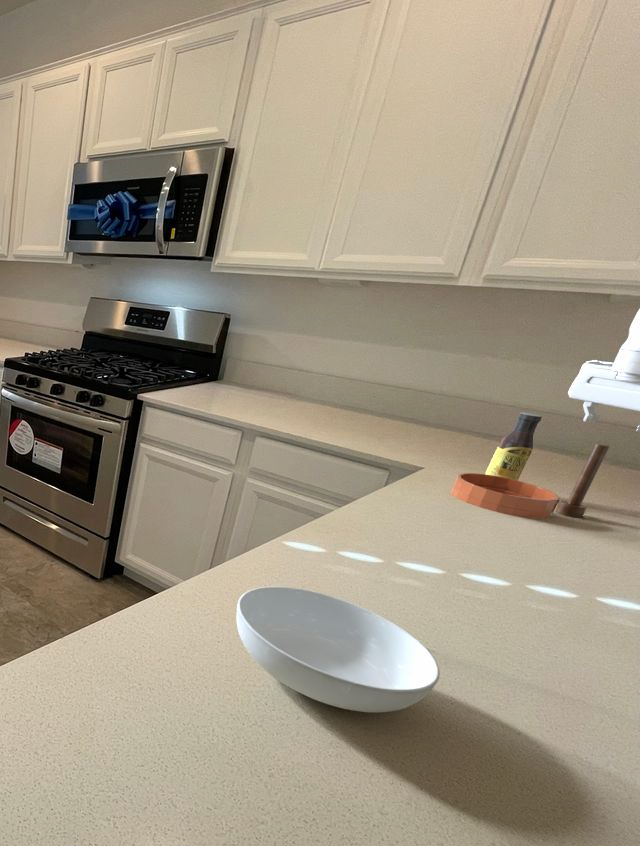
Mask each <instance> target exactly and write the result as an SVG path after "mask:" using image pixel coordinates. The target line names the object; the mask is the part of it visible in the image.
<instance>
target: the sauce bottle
mask: <svg viewBox="0 0 640 846" xmlns="http://www.w3.org/2000/svg"><path fill="white" fill-rule="evenodd" d="M542 418H543V416H541V415H539V414H534V413H529V412H519V414H518V416H517V420H516V422H515V425H514V426H513V429H512V430H511V431H509V432H508V433H506V434H505V435H504V436H502V438H501V440H500V442H499V445H498V446H497V447H496V449H495V452H494V454H493V456H492V457H491V459H490V462H489V464H488V466H487V469H486V470H485V472H484V474H487V475H494V476H499V477H504V478H509V479H514V480H518V481H519V479H520V477H521V474H522V473H523V470H524V469H525V466H526V464H527V461H528V460H529V458H530V456H531V454H532V453H533V449H534V433H535V430H536V429H537V426H538V424H539V423H540V422H541V421H542Z"/></svg>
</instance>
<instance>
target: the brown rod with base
mask: <svg viewBox="0 0 640 846" xmlns="http://www.w3.org/2000/svg"><path fill="white" fill-rule="evenodd" d="M610 447H611V446H610V445H609V444H604V443H599V442H597V443H595V444H594V446H593V448H592V450H591V452H590V453H589V456H588V458H587V460H586V462H585V464H584V466H583V468H582V470H581V473H580V475H579V477H578V479H577V481H576V483H575V485H574V486H573V488H572V491H571V493H570V495H569V497H568V499H567V500H559V501H558V504H557V506H556V508H555V512H556V513H557V514H560V515H562V516H566V517H570V518H578V519H581V518H583V517H584V515H585V513H586V511H587V508H588V507H587V506H586V505H584V504H583V501H584V499H585V497H586V495H587V493H588V491H589V489H590V487H591V485H592V483H593V481H594V479H595V477H596V475H597V473H598V471H599V469H600V467H601V465H602V463H603V461H604V459H605V457H606V455H607V452H608V451H609V449H610Z"/></svg>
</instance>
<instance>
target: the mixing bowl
mask: <svg viewBox="0 0 640 846" xmlns="http://www.w3.org/2000/svg"><path fill="white" fill-rule="evenodd" d="M449 495H452V496H453V497H455V498H456V499H458V500H460V501H463V502H464V503H467V504H470V505H472V506H475V507H478V508H481V509H485V510H489V511H492V512H495V513H499V514H505V515H509V516H514V517H519V518H527V519H539V520H542V519H550V518H551V517H552V516H553V514H554V512H555V511H556V509H557V506H558V504H559V502H560V500H561V497H560V496H559V495H558V494H557V493H555V492H553V491H552V490H549V489H546V488H544V487H541V486H540V485H536V484H533V483H529V482H526V481H521V480H519V479H518V480H514V479H509V478H504V477H499V476H494V475H487V474H485V473H479V472H461V473H459V474H457V475H456V477H455V481H454V482H453V485H452V487H451V490H450V492H449Z"/></svg>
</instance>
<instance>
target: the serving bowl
mask: <svg viewBox="0 0 640 846" xmlns="http://www.w3.org/2000/svg"><path fill="white" fill-rule="evenodd" d="M235 616H236V618H235V619H236V628H237V632H238V635H239V638H240V639H241V642H242V644H243V646H244V647H245V649H246V650H247V652H248V654H249V655H250V657H252V658H253V660H254V661H255V662H256V663H257V664H258V665H259V666H260V668H262V669H263V670H264V671H265V672H267V673H268V674H269V675H271V676H272V677H273V678H274V679H276V680H277V681H278V682H280V683H282V684H283V685H285V686H287V687H288V688H291V689H292V690H294V691H296V692H298V693H300V694H302V695H303V696H306V697H308V698H310V699H312V700H315V701H317V702H319V703H323V704H325V705H328V706H333V707H336V708H340V709H343V710H349V711H354V712H361V713H389V712H395V711H400V710H403V709H406V708H409V707H411V706H413V705H415V704H416V703H418V702H420V701H421V700H422V699H424V698H426V696H427V695H428V694H429V693H430V692H431V691H432V690H433V688H434V687H435V686H436V685H437V683H438V681H439V680H440V667H439V665H438V662H437V660H436V658H435V656H433V654H432V653H431V652H430V651H429V649H428V648H427V647H426V646H425V645H424V644H423V643H422V642H421V641H419V640H418V639H417V638H416V637H414V636H413V635H412V634H411V633H410V632H408V631H406V630H405V629H404V628H402V627H401V626H399V625H397V624H395V623H394V622H392V621H390V620H389V619H387V618H386V617H383V616H382V615H380V614H378V613H376V612H373V611H372V610H369V609H367V608H365V607H363V606H360V605H358V604H355V603H353V602H350V601H347V600H344V599H342V598H338V597H335V596H332V595H328V594H325V593H321V592H317V591H313V590H310V589H304V588H298V587H289V586H278V585H277V586H262V587H261V586H260V587H257V588H254V589H249V590H247V591H246V592H244V593H243V594H241V596H240V597H239V599H238V601H237V604H236V615H235Z"/></svg>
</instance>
